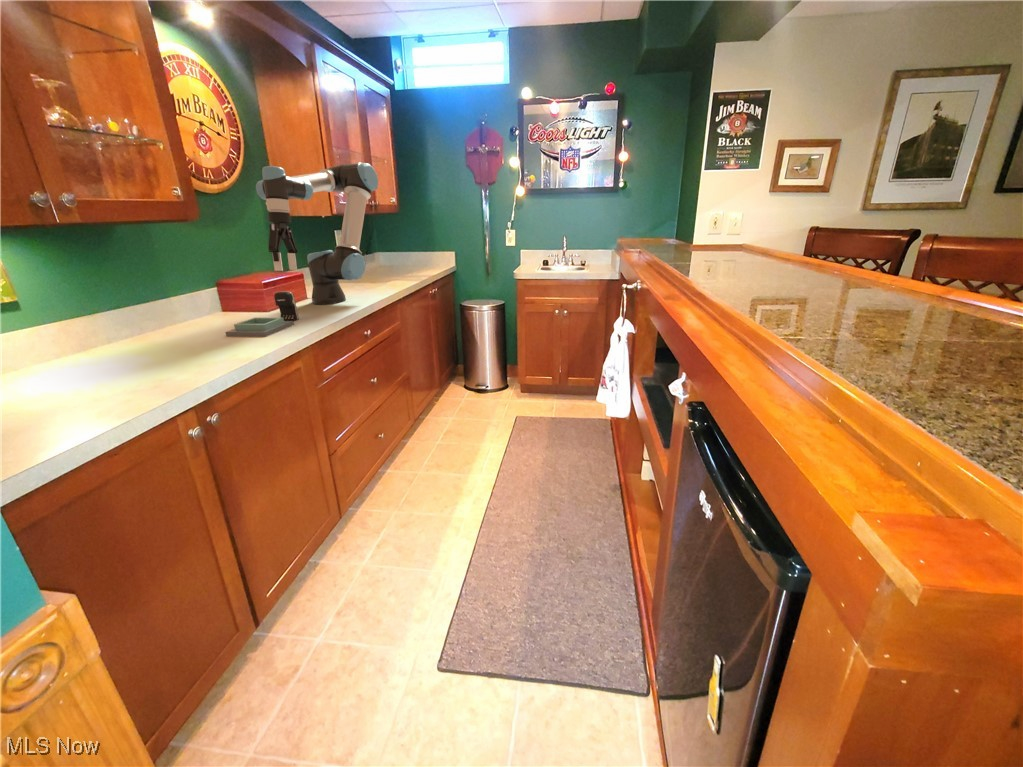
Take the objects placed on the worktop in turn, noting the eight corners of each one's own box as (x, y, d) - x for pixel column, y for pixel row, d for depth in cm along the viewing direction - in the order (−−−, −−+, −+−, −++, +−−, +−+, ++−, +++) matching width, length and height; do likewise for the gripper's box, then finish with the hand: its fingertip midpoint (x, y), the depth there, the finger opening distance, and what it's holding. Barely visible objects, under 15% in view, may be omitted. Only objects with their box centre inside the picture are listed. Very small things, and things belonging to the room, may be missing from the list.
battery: (278, 321, 174) (271, 292, 170) (284, 319, 178) (277, 291, 173) (293, 321, 173) (287, 292, 169) (299, 319, 176) (293, 290, 172)
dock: (257, 324, 170) (254, 315, 169) (294, 324, 168) (292, 315, 166) (226, 336, 156) (223, 326, 154) (266, 336, 153) (264, 326, 152)
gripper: (282, 215, 175) (289, 269, 181) (252, 208, 151) (261, 271, 157) (301, 215, 176) (308, 269, 182) (274, 208, 152) (282, 271, 158)
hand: (286, 270), depth 169 cm, fingers open, 13 cm apart
